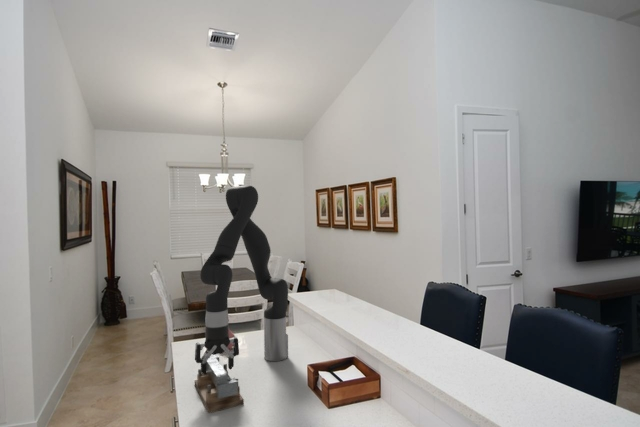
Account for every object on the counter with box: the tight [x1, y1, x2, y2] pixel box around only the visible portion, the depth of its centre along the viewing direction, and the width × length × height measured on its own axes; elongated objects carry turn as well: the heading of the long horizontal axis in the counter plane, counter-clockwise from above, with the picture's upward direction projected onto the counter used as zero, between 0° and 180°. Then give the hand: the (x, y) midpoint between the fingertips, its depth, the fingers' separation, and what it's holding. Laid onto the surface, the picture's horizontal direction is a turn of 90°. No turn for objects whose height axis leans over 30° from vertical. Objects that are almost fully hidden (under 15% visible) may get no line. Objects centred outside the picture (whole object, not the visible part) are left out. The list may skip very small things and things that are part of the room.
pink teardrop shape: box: [227, 328, 236, 350], centre depth 170 cm, size 8×8×12 cm
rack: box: [194, 363, 245, 414], centre depth 127 cm, size 11×22×6 cm, turn 29°
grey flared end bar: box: [200, 354, 239, 399], centre depth 128 cm, size 6×26×4 cm, turn 29°
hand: (217, 371), depth 127 cm, fingers open, 8 cm apart
